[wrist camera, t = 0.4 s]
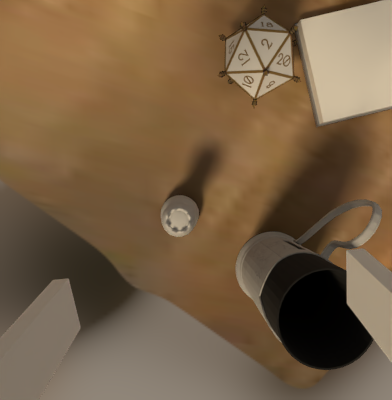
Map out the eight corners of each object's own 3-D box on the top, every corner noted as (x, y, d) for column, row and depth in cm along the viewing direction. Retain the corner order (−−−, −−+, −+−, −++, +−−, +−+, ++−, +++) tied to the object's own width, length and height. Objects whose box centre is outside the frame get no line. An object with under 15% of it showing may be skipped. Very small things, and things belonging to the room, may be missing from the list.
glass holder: (221, 280, 38) (245, 340, 23) (284, 178, 38) (348, 171, 23) (284, 317, 39) (346, 400, 24) (346, 216, 38) (449, 234, 23)
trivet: (293, 25, 37) (298, 18, 36) (392, 2, 38) (401, -7, 36) (316, 127, 38) (322, 124, 36) (414, 103, 38) (424, 99, 36)
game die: (255, 70, 41) (324, 15, 33) (256, 128, 38) (332, 84, 30) (197, 36, 36) (262, -37, 28) (194, 100, 34) (265, 38, 26)
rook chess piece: (165, 236, 38) (159, 249, 30) (157, 199, 38) (149, 202, 30) (202, 228, 38) (207, 239, 30) (194, 191, 38) (197, 191, 30)
